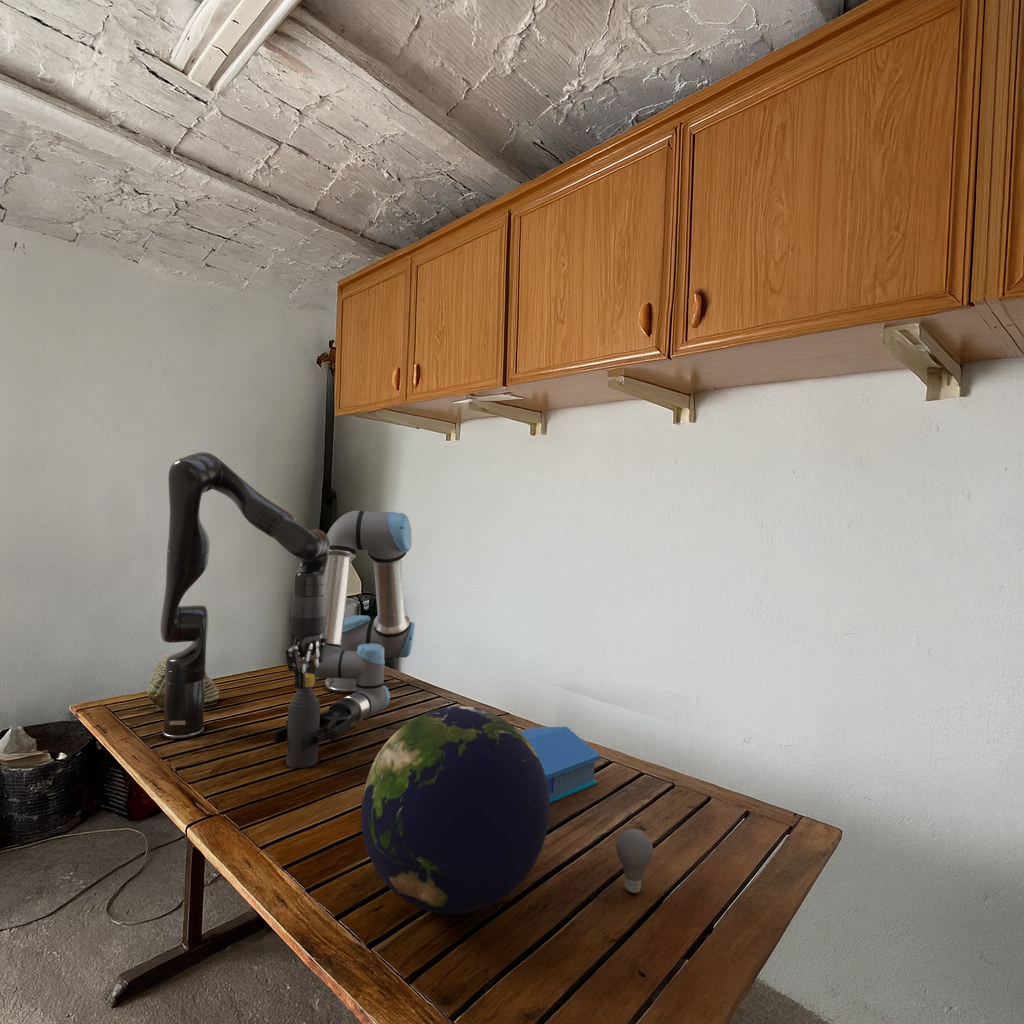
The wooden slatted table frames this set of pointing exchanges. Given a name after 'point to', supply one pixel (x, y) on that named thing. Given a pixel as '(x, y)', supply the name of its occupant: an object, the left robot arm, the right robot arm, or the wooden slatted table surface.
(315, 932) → the wooden slatted table surface
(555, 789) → the model building
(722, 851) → the wooden slatted table surface
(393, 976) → the wooden slatted table surface
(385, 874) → the globe
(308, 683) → the cap
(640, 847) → the light bulb
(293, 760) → the bottle
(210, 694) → the fossil
